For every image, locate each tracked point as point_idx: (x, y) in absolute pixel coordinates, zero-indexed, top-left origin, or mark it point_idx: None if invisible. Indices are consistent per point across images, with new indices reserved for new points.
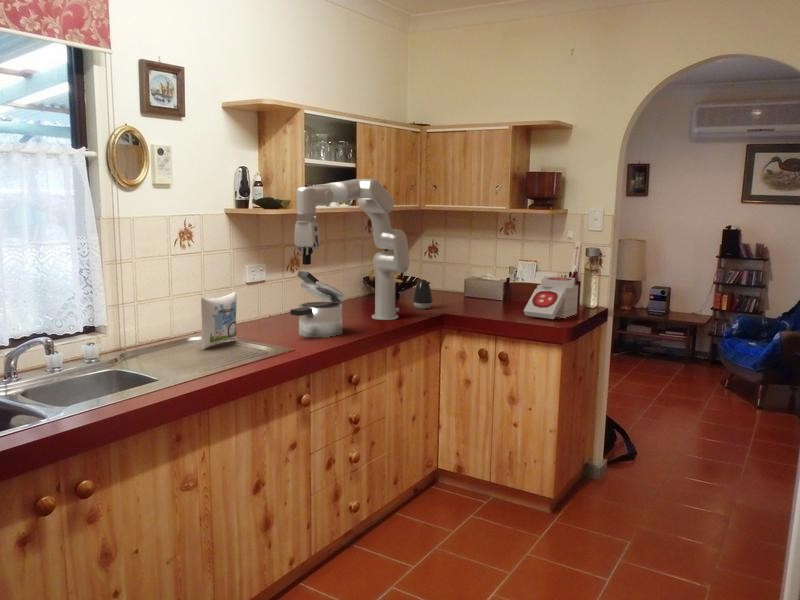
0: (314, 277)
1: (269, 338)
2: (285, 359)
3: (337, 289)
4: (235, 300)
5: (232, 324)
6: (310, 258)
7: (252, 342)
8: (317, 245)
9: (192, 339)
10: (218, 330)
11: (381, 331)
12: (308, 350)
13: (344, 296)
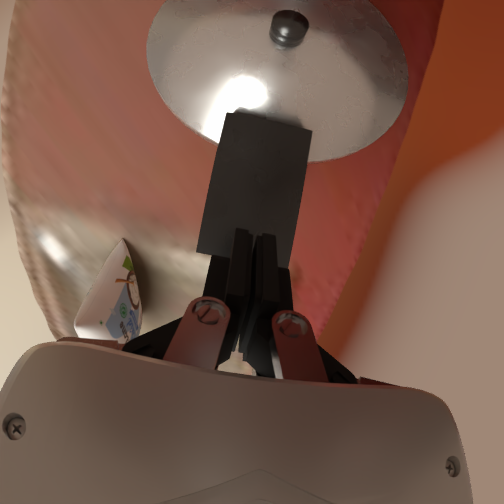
0: (302, 187)
1: (171, 187)
2: (311, 324)
3: (403, 103)
4: (104, 327)
5: (133, 301)
6: (289, 295)
7: (165, 239)
8: (411, 397)
9: (56, 257)
10: (140, 326)
11: (432, 5)
12: (328, 262)
13: (397, 40)
